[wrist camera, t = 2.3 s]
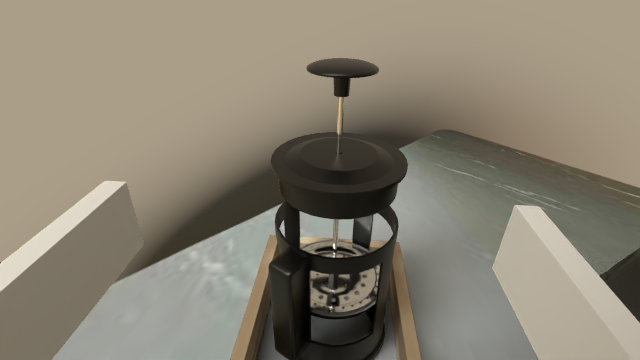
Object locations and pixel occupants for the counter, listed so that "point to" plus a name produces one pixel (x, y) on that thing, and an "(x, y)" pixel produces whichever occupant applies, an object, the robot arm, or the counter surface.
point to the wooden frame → (261, 297)
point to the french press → (333, 255)
